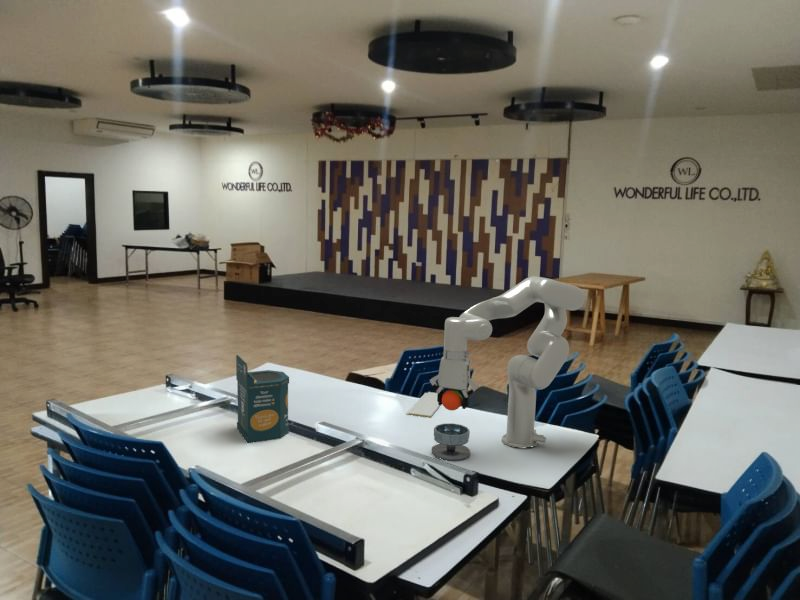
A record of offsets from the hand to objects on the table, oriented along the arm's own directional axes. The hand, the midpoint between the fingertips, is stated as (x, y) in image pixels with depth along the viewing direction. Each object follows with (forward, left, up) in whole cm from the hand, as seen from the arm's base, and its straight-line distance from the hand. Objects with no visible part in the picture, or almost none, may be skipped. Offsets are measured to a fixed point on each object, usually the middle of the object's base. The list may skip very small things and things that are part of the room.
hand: (452, 405), depth 205 cm
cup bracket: (0, 0, -17) cm, 17 cm away
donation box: (+67, +12, -17) cm, 70 cm away
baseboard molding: (+26, -46, -18) cm, 55 cm away
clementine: (0, 0, -2) cm, 2 cm away
